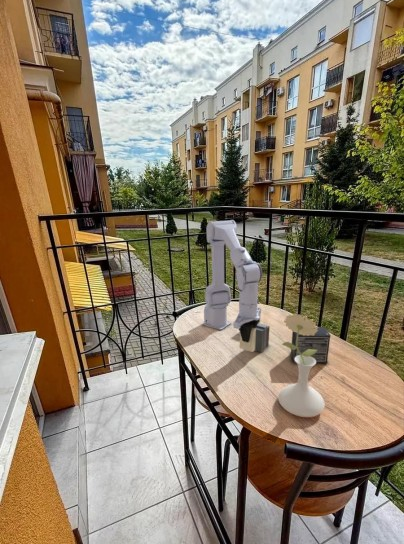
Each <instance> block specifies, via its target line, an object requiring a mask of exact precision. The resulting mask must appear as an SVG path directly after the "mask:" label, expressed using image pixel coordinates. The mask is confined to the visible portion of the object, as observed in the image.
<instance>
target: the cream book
mask: <svg viewBox="0 0 404 544" xmlns="http://www.w3.org/2000/svg"><path fill="white" fill-rule="evenodd" d="M255 338H256V328H252V330H251V333H250V340H249V342H248V343H247V342H244V341H242V337H241V333H240V332H239V345H238V346H239V349H241V350H244V351H247V352H251V353H253V352H255V351H254V350H255Z"/></svg>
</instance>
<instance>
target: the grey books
mask: <svg viewBox="0 0 404 544" xmlns="http://www.w3.org/2000/svg"><path fill="white" fill-rule="evenodd" d="M269 343H270V325H266V324H263V323H260V324H259V323H258V324H257V326H256V338H255V350H254V351H253V352H258V353H263V352H264V351H265V350H266V349H267V348H269Z"/></svg>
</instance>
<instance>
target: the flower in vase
mask: <svg viewBox="0 0 404 544" xmlns="http://www.w3.org/2000/svg"><path fill="white" fill-rule="evenodd" d="M283 322H284V323H285V327H287V328H288V330H291V331H292V332H297V338H296V346H295V345H293V344H292V342H289V341H286V342H283V343H282V344H281V345H282V346H285V347H287V348H289V349H290V350H291V349H292V350H295V349H296V348H297V350H298V352H299V354H300V355H298V356H296V357H295V359H294V360H295V362H296V363H295V364H296V365H297V367H298V368H297V369H298V378H297V379H298V380H297V382H296V383H292V384H289V385H285V386H284V387H283V388H281V390H280V391H279V393H278V397H277V399H278V402H279V404H280V405H281V407H282V408H283V409H284V410H285V411H286V412H287V413H289V414H291V415H294V416H296V417H301V418H314V417H316V416H318V415H320V414H321V413H323V411H324V410H325V407H326V405H325V400H324V398H323V396H322V395H321V394H320V392H318V390H316V389H315V388H313V387H312V386H310V385H309V376H310V372H311V369H312V368H313V367H314V366H315V365H316V360H315V359H314V358H313V357H311V355H313V354H315V353H316V352H317V350H313V349H308V350H306V351H305V352H304V353H302V354H301V353H300V351H299V349H298V347H297V340H298V335H299V334H301V335H304V336H305V335H307V336H309V335H315V333H316V332H317V331H318V330H317V327H318V326H316V325H317V323H316V322H314V320H312V319H308V316H307V315H301V314H300V313H299V314H296V313H292V314H288V315H286V316H285V318H284V320H283Z"/></svg>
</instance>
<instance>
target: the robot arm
mask: <svg viewBox="0 0 404 544" xmlns="http://www.w3.org/2000/svg"><path fill="white" fill-rule="evenodd" d="M237 232H238V226H237V222H236V221H235V220H234V219H230V220H218V221H215V220H214V221H212V220H211V221H209V222H208V223H207V225H206V242H207V243H208V244H210V248H211V249H210V250H211V251H210V252H211V283H210V284H209V285H208V286H206V288H205V293H204V300H205V305H204V308H203V321H204V322H203V324H202V326H206V327H209V328H213V329H216V330H219V331H222V330H224V329H225V328H226V327H228V326H229V325H231V323H232V322H231V321H228V306H229V304H230V303H231V302H232V294H231V288H230V286H229V285H228V284H226V283H225V245H226V247H227V248H228V250H229V251H230V254H229V258H230V260H231V262H232V264H233V267H234V268H235V270H236V272H235V277H236V283H237V289H239V290H238V291H239V292H238V293H239V294H238V295H239V296H238V314H237V316H236V318H235V320H234V321H233V323H232V324H233V325H232V326H233V328H234V329H237V330H238V331H239V334H240V333H241V337H242V341H244V342H247V343H248V342H249V340H250V333H251V330H252V328H256V326H257V324H258V323H259V321H260V322H261V315H260V316H258V314H262V308H261V307H258V303H259V302H258V301H259V300H258V297H259V283H260V282H261V281H262V280H263V269H262V267H261V264H260V263H259V262H256V261H254V260H253V259H252V257H251V255H250V254H249V251H248V250H247V248H245V247H244V246H242V245H241V244H240V241H239V238H238V236H237V234H238V233H237Z"/></svg>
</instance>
